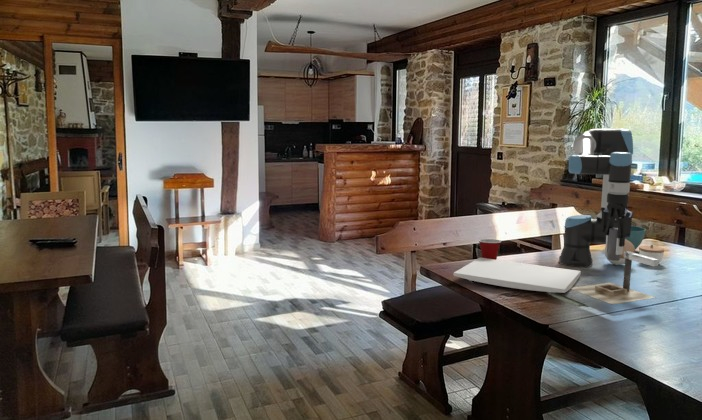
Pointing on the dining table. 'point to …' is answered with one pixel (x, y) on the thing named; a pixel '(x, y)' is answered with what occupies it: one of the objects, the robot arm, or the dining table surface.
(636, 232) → the plant pot
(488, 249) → the plastic cup
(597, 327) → the dining table surface
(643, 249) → the lidded jar
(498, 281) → the board
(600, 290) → the socket plate
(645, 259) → the latch
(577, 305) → the pad
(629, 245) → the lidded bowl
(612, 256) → the peg
